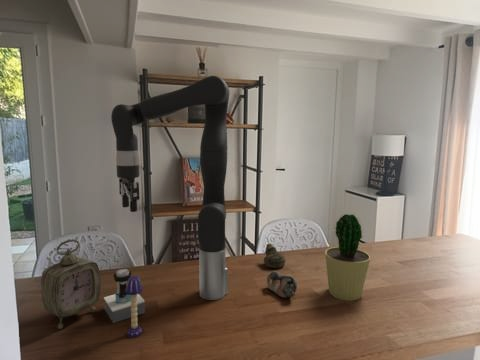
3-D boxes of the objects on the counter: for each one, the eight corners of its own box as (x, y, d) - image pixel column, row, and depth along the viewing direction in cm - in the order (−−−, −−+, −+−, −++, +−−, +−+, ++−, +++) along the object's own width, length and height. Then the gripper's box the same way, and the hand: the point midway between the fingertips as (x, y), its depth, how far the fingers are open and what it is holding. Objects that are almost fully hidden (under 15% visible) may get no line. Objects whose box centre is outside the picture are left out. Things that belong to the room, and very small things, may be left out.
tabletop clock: (57, 334, 94) (51, 250, 90) (40, 324, 98) (33, 244, 95) (102, 311, 106) (98, 236, 102) (85, 303, 111) (80, 231, 107)
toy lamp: (129, 328, 97) (127, 274, 94) (145, 327, 97) (143, 274, 95) (125, 338, 92) (122, 282, 90) (142, 337, 92) (140, 281, 90)
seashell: (282, 245, 151) (260, 246, 150) (288, 239, 141) (265, 239, 139) (284, 271, 147) (262, 271, 145) (291, 266, 136) (267, 266, 135)
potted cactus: (369, 288, 124) (374, 210, 119) (365, 307, 110) (372, 220, 105) (327, 280, 130) (331, 206, 126) (319, 297, 116) (323, 214, 112)
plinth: (134, 299, 113) (134, 288, 113) (145, 312, 105) (144, 301, 105) (104, 308, 107) (103, 297, 107) (113, 323, 99) (112, 310, 99)
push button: (136, 295, 108) (135, 266, 107) (137, 303, 103) (136, 272, 102) (114, 298, 106) (113, 269, 104) (114, 306, 101) (113, 275, 100)
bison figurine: (268, 285, 125) (259, 296, 116) (269, 268, 125) (260, 277, 115) (299, 292, 121) (293, 303, 112) (300, 273, 120) (294, 283, 111)
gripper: (145, 164, 111) (147, 211, 113) (131, 161, 122) (133, 204, 124) (123, 166, 106) (125, 215, 108) (110, 162, 117) (112, 206, 120)
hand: (129, 209), depth 116 cm, fingers open, 8 cm apart
